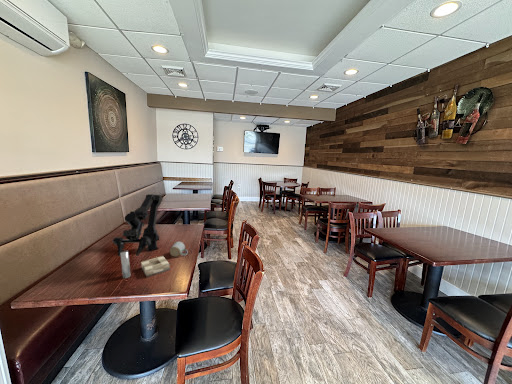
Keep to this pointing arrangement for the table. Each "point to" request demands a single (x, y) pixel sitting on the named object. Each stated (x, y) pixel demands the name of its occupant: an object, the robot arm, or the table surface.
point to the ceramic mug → (178, 249)
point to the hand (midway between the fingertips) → (127, 255)
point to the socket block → (155, 266)
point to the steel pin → (125, 264)
